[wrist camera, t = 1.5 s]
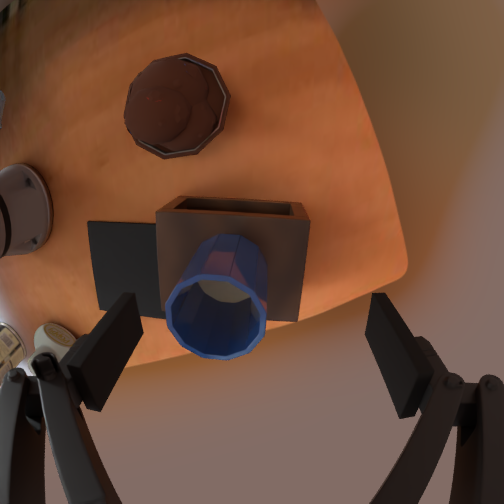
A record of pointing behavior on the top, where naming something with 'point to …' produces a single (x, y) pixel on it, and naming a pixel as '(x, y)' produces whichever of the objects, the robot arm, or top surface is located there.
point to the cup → (220, 299)
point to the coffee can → (9, 350)
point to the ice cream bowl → (176, 106)
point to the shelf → (240, 223)
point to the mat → (126, 264)
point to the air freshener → (51, 342)
